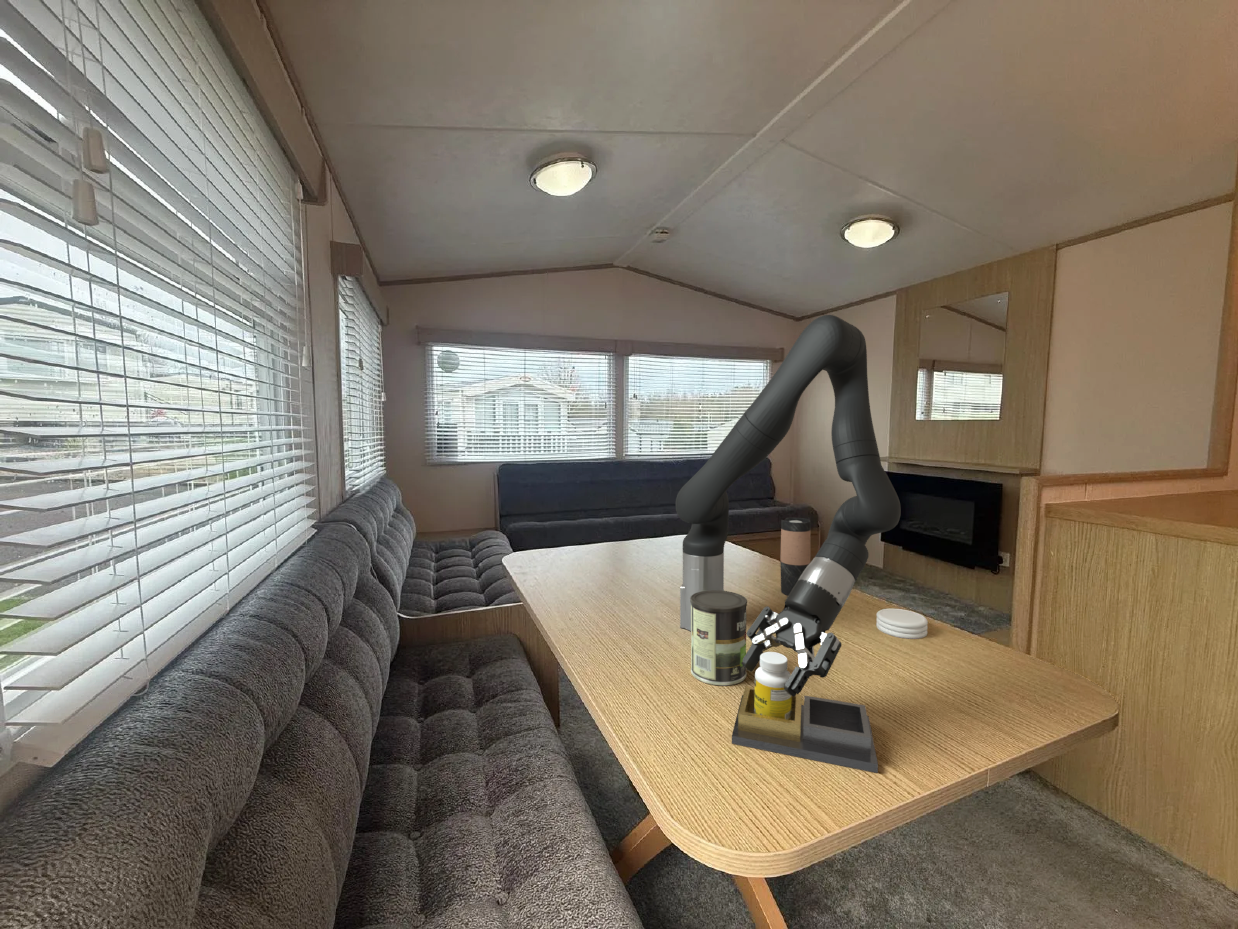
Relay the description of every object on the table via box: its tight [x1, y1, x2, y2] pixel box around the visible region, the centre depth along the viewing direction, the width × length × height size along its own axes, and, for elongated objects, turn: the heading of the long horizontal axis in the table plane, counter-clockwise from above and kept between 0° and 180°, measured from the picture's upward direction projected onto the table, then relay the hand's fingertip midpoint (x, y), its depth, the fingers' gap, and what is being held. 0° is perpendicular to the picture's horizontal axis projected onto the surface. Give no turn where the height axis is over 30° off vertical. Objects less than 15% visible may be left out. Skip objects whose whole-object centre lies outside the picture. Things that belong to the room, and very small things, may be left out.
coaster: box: [875, 608, 929, 640], centre depth 115 cm, size 10×10×4 cm
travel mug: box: [779, 517, 812, 597], centre depth 140 cm, size 8×8×20 cm
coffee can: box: [690, 590, 748, 686], centre depth 96 cm, size 10×10×14 cm
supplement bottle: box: [754, 651, 792, 720], centre depth 78 cm, size 5×5×10 cm
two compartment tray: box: [731, 685, 879, 774], centre depth 77 cm, size 19×12×4 cm, turn 70°
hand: (766, 680), depth 78 cm, fingers open, 8 cm apart
